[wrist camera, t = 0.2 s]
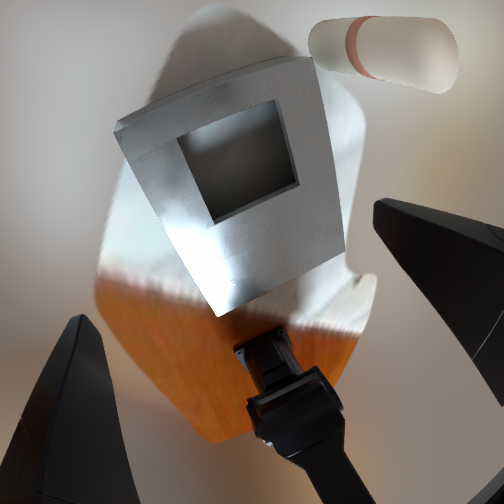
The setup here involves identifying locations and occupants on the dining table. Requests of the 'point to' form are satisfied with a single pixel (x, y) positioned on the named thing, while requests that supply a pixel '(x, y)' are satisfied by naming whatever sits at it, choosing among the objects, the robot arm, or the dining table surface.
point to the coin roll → (388, 50)
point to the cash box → (257, 212)
